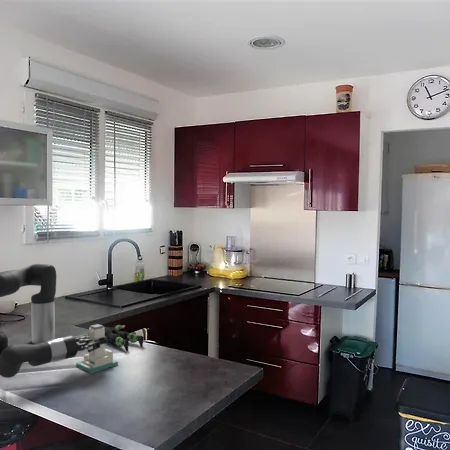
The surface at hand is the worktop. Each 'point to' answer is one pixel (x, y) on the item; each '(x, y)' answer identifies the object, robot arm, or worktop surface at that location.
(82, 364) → the green base socket
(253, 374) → the worktop surface
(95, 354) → the cream rectangular block
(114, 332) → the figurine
